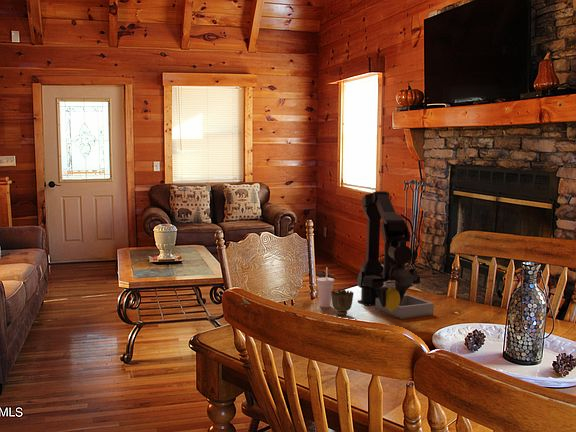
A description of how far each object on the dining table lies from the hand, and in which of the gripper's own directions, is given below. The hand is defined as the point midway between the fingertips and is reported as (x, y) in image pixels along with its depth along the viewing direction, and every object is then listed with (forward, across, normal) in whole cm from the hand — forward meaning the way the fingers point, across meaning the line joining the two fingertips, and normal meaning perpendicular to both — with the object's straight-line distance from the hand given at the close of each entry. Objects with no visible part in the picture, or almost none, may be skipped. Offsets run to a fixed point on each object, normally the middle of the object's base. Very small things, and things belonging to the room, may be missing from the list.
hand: (391, 306), depth 197 cm
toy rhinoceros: (+6, +23, +32) cm, 40 cm away
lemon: (+2, 0, 0) cm, 2 cm away
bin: (+6, +13, +10) cm, 17 cm away
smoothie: (+6, -8, +28) cm, 30 cm away
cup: (+6, -9, +15) cm, 18 cm away
